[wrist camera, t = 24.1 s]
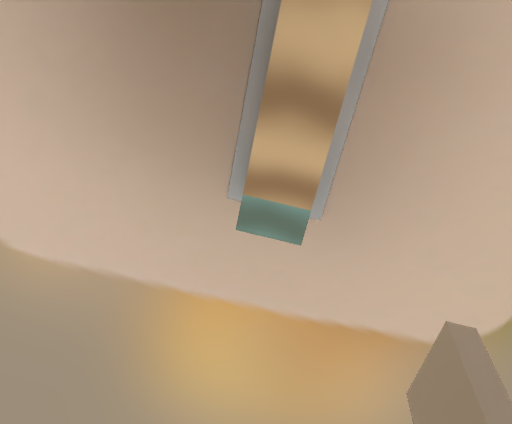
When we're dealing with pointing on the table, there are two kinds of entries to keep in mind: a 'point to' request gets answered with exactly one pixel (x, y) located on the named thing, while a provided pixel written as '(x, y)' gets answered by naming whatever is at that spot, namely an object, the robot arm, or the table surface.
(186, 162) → the table surface
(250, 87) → the mat
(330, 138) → the plug
